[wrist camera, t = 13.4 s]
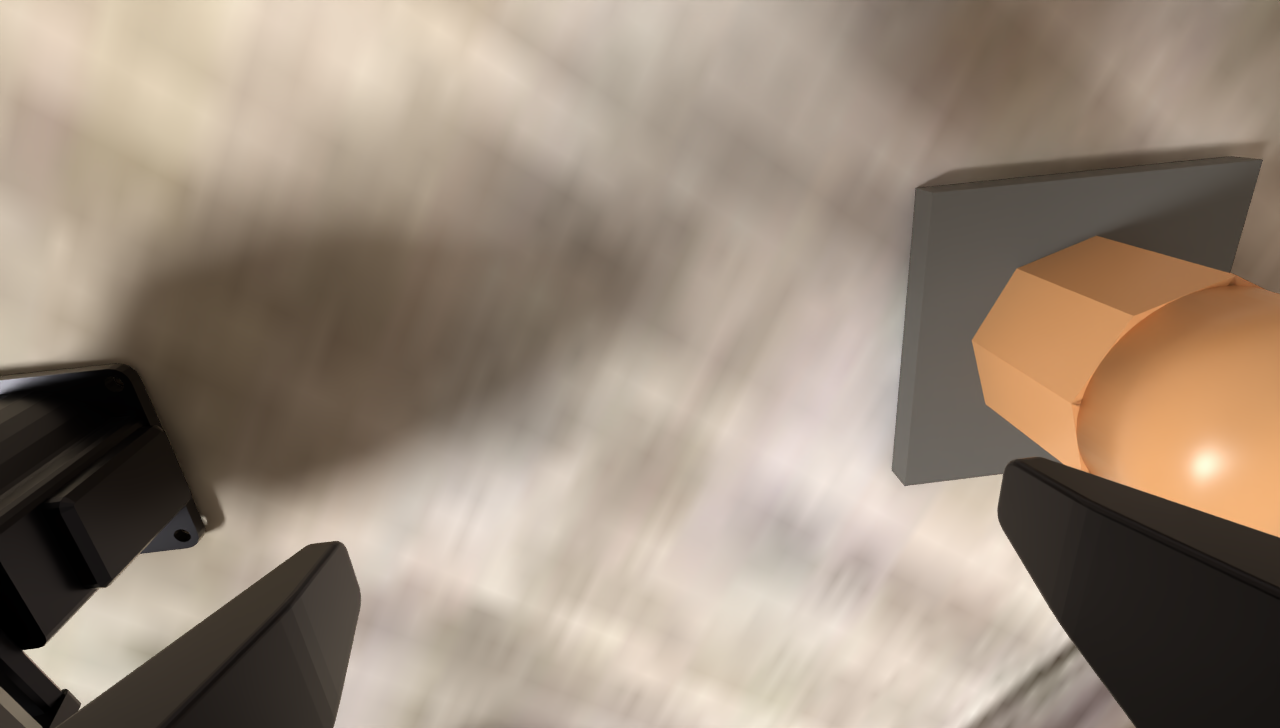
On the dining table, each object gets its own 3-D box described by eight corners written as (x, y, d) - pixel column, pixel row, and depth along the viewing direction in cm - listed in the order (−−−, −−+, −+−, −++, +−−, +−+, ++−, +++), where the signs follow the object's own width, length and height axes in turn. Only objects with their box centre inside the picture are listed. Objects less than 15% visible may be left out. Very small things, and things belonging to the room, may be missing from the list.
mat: (892, 470, 23) (904, 485, 22) (915, 188, 19) (932, 192, 18) (1155, 438, 24) (1178, 452, 23) (1231, 156, 20) (1262, 159, 19)
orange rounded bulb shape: (941, 387, 21) (1137, 547, 14) (1050, 213, 19) (1347, 291, 12) (1083, 440, 22) (1330, 612, 15) (1198, 284, 20) (1548, 393, 13)
